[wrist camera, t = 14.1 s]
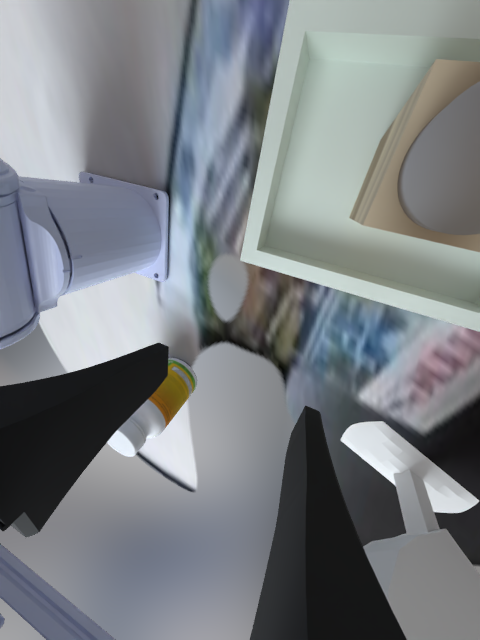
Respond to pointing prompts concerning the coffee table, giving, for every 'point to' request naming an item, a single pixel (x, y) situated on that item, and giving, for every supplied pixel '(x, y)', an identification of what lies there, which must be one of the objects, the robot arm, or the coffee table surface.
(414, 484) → the heart sculpture
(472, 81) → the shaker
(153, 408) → the supplement bottle
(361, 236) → the tray
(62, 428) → the robot arm
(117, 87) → the coffee table surface
